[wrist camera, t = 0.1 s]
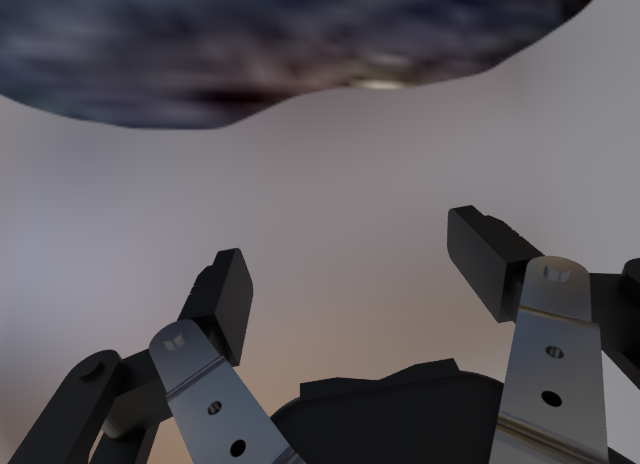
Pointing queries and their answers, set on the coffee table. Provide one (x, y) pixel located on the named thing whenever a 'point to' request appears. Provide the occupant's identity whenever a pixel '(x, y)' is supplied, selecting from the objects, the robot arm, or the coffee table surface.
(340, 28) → the coffee table surface
